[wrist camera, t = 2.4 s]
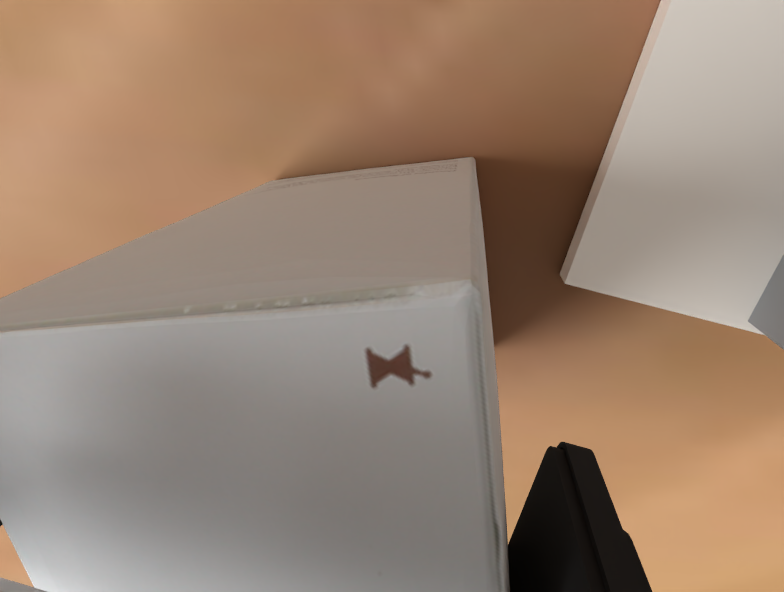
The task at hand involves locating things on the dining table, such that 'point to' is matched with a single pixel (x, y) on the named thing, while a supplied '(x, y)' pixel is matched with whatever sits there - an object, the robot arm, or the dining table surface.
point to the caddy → (695, 172)
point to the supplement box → (265, 398)
